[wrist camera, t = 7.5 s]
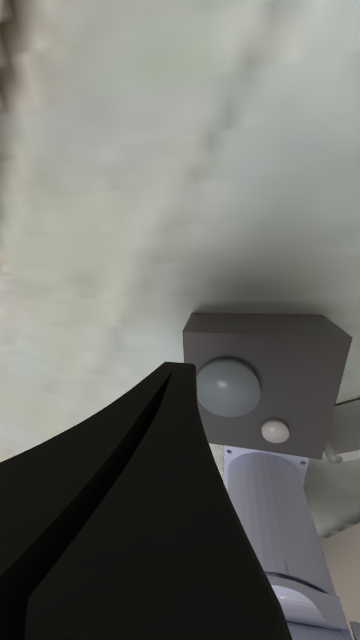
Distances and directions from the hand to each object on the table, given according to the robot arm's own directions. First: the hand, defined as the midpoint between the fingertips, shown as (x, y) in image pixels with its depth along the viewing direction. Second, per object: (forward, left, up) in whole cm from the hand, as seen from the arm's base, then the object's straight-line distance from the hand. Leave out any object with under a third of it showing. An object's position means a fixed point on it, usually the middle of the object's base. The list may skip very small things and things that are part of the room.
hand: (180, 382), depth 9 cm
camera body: (-5, -4, -9) cm, 11 cm away
